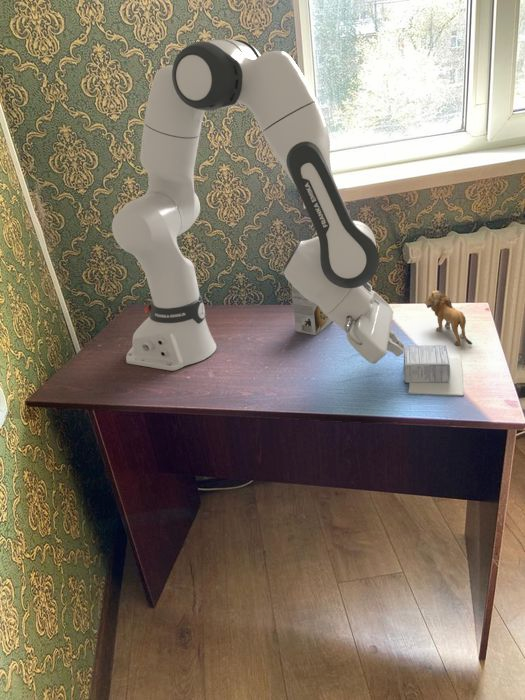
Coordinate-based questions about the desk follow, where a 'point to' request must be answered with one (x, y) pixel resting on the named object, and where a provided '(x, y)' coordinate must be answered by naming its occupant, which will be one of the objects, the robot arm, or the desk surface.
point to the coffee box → (308, 315)
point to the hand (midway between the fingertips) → (401, 351)
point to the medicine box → (426, 364)
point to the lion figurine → (447, 314)
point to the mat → (442, 383)
